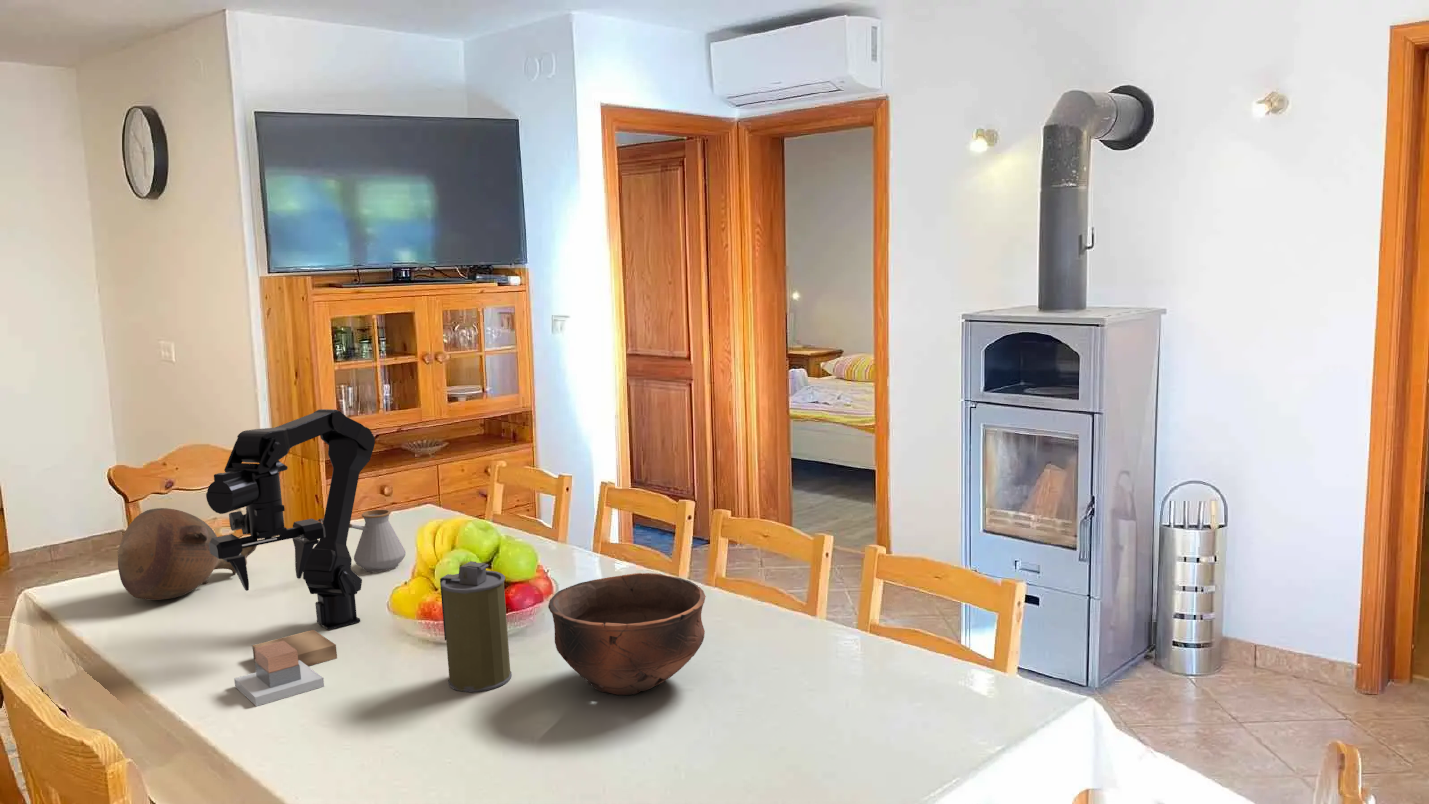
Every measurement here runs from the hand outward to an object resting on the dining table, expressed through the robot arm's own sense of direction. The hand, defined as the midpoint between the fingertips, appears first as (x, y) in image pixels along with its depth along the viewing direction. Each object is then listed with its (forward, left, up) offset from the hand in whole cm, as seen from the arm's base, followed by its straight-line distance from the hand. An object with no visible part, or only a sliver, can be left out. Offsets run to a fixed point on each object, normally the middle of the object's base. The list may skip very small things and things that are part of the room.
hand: (273, 584), depth 194 cm
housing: (+5, +16, -12) cm, 20 cm away
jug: (+1, -54, -13) cm, 55 cm away
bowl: (-37, +58, -13) cm, 70 cm away
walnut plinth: (-1, +5, -13) cm, 14 cm away
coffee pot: (-31, -37, -13) cm, 50 cm away
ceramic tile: (+6, +16, -13) cm, 21 cm away
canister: (-20, +38, -13) cm, 45 cm away
